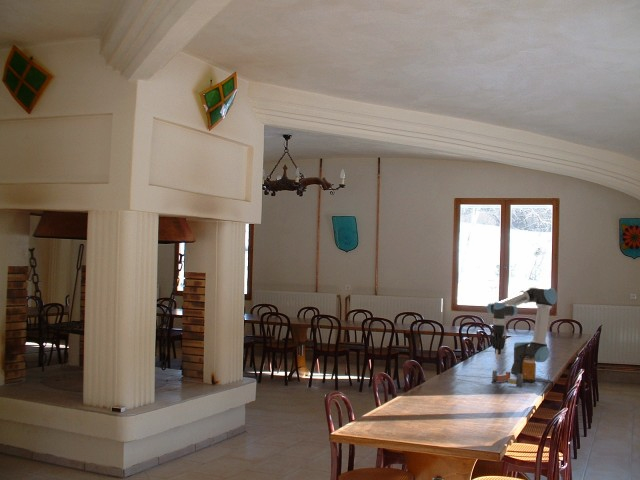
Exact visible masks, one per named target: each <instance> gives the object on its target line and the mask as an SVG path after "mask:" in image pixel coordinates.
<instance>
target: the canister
mask: <svg viewBox="0 0 640 480" xmlns="http://www.w3.org/2000/svg"><path fill="white" fill-rule="evenodd" d="M523 355H524V356H523ZM519 356H520V373H519V374H523V382H524V383H527V384H528V383H530V384H532V383H533V384H534V383H535V382H536V375H537V374H536V371H537V369H536V368H537V364H536V362H535V359H533V358H532V357H533V356H535V354H533V353H526V352H524V353H523V354H521V355H519ZM521 356H523V357H521ZM522 359H523V363H522Z"/></svg>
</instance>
